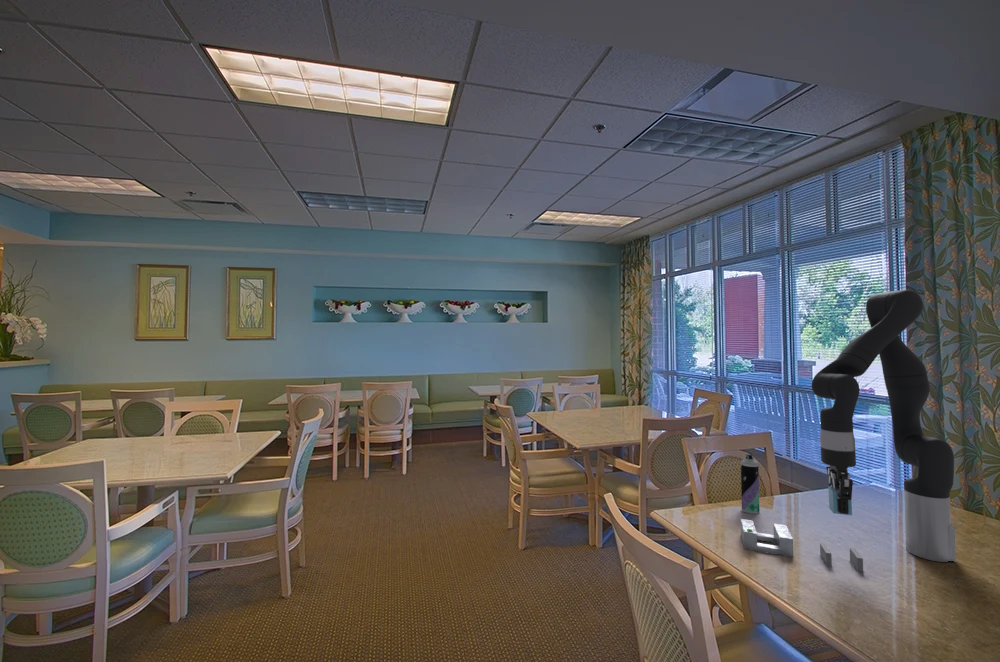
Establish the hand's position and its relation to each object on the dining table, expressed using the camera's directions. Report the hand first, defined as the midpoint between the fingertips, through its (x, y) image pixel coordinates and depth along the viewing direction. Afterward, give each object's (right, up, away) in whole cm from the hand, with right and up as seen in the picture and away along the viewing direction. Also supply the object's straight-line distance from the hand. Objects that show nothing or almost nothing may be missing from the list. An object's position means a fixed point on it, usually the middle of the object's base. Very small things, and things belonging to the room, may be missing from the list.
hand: (840, 509), depth 117 cm
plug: (0, -1, 0) cm, 1 cm away
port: (-14, -15, +10) cm, 23 cm away
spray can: (-3, -16, +36) cm, 40 cm away
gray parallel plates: (0, -15, 0) cm, 15 cm away
